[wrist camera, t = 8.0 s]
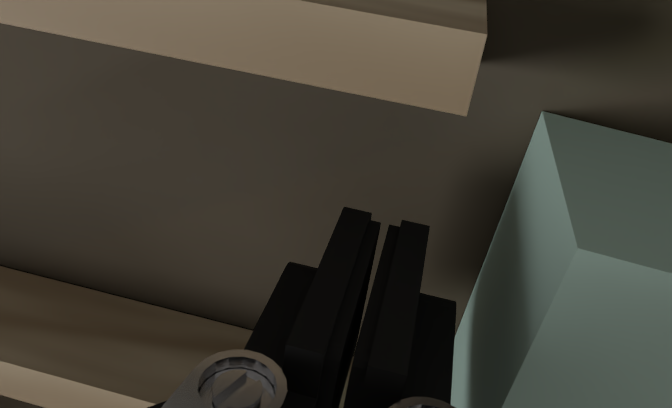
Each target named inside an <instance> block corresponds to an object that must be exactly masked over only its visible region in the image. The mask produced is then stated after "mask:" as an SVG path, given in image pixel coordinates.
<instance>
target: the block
mask: <svg viewBox="0 0 672 408" xmlns="http://www.w3.org/2000/svg"><path fill="white" fill-rule="evenodd" d="M451 405H452V406H454V407H456V408H672V143H668V142H664V141H660V140H656V139H652V138H648V137H644V136H640V135H636V134H632V133H628V132H624V131H620V130H616V129H612V128H608V127H604V126H600V125H596V124H592V123H588V122H584V121H580V120H576V119H572V118H568V117H564V116H560V115H556V114H552V113H548V112H544V111H542V112H541V115H540V118H539V120H538V123H537V125H536V128H535V131H534V133H533V136H532V138H531V141H530V144H529V146H528V149H527V151H526V154H525V156H524V159H523V162H522V164H521V167H520V169H519V172H518V175H517V177H516V180H515V182H514V185H513V188H512V190H511V193H510V195H509V198H508V201H507V203H506V206H505V208H504V211H503V214H502V216H501V219H500V221H499V224H498V227H497V229H496V232H495V234H494V237H493V240H492V242H491V245H490V247H489V250H488V253H487V255H486V258H485V260H484V263H483V266H482V268H481V271H480V273H479V276H478V278H477V281H476V284H475V286H474V289H473V291H472V294H471V297H470V299H469V302H468V304H467V307H466V310H465V312H464V315H463V317H462V320H461V323H460V325H459V328H458V330H457V333H456V336H455V338H454V355H453V372H452V389H451Z"/></svg>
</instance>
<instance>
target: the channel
mask: <svg viewBox="0 0 672 408" xmlns="http://www.w3.org/2000/svg"><path fill="white" fill-rule="evenodd" d="M0 23H3V24H8V25H13V26H18V27H23V28H28V29H33V30H38V31H43V32H48V33H53V34H58V35H63V36H68V37H73V38H78V39H83V40H88V41H93V42H98V43H103V44H108V45H113V46H118V47H123V48H128V49H133V50H138V51H143V52H148V53H153V54H158V55H163V56H168V57H173V58H178V59H183V60H188V61H193V62H198V63H203V64H208V65H213V66H218V67H223V68H228V69H233V70H238V71H243V72H248V73H253V74H258V75H263V76H268V77H273V78H278V79H283V80H288V81H293V82H298V83H303V84H308V85H313V86H318V87H323V88H328V89H333V90H338V91H343V92H348V93H353V94H358V95H362V96H367V97H372V98H377V99H382V100H387V101H392V102H397V103H402V104H407V105H412V106H417V107H422V108H427V109H432V110H437V111H442V112H447V113H452V114H457V115H462V116H467V112H468V108H469V104H470V100H471V97H472V93H473V89H474V85H475V81H476V77H477V73H478V69H479V65H480V61H481V58H482V54H483V50H484V46H485V42H486V38H487V3H486V0H0ZM252 332H253V331H252V330H248V329H244V328H240V327H236V326H232V325H228V324H225V323H221V322H217V321H213V320H209V319H205V318H201V317H197V316H193V315H189V314H185V313H182V312H178V311H174V310H170V309H166V308H162V307H158V306H154V305H150V304H146V303H142V302H139V301H135V300H131V299H127V298H123V297H119V296H115V295H111V294H107V293H103V292H100V291H96V290H92V289H88V288H84V287H80V286H76V285H72V284H68V283H64V282H60V281H57V280H53V279H49V278H45V277H41V276H37V275H33V274H29V273H25V272H21V271H17V270H14V269H10V268H6V267H2V266H0V395H3V396H6V397H10V398H13V399H17V400H20V401H24V402H27V403H31V404H34V405H38V406H41V407H45V408H147V407H150V406H153V405H156V404H158V403H161V402H164V401H167V400H168V399H169V398H170V396H171V395H172V394H173V393H174V392H175V390H176V389H177V388H178V387H179V386H180V384H181V383H182V382H183V381H184V380H185V378H186V377H187V376H188V375H189V374H190V372H191V371H192V370H193V369H194V368H195V367H196V366H197V365H198V364H199V363H200V362H201V361H203V360H204V359H205V358H207V357H209V356H211V355H213V354H216V353H218V352H222V351H227V350H244V348H245V346H246V344H247V342H248V340H249V338H250V336H251V334H252ZM353 359H354V357H352V361H351V365H350V368H349V372H348V376H347V379H346V383H345V387H344V390H343V394H342V398H341V401H340V405H339V408H343V406H344V401H345V396H346V391H347V386H348V381H349V376H350V372H351V367H352V363H353Z"/></svg>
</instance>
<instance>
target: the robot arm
mask: <svg viewBox="0 0 672 408" xmlns="http://www.w3.org/2000/svg"><path fill="white" fill-rule="evenodd" d="M371 215H372V213H369V212H365V211H361V210H356V209H352V208H347V207H344V208H343V210H342V213H341V215H340V217H339V220H338V222H337V224H336V227H335V229H334V232H333V234H332V236H331V239H330V241H329V243H328V246H327V248H326V250H325V253H324V255H323V258H322V260H321V262H320V265H319V267H318V268H314V267H310V266H305V265H301V264H297V263H293V262H289V263H288V264H287V266H286V267H285V269H284V271H283V273H282V275H281V277H280V279H279V281H278V283H277V285H276V287H275V289H274V291H273V293H272V295H271V297H270V299H269V301H268V303H267V305H266V307H265V309H264V311H263V313H262V315H261V317H260V318H259V320H258V322H257V324H256V326H255V328H254V330H253V332H252V334H251V336H250V338H249V340H248V342H247V344H246V346H245V348H244V350H227V351H222V352H218V353H216V354H213V355H211V356H209V357H207V358H205V359H204V360H203V361H201V362H200V363H199V364H198V365H197V366H196V367H195V368H194V369H193V370H192V371H191V372H190V374H189V375H188V376H187V377H186V378H185V380H184V381H183V382H182V383H181V384H180V386H179V387H178V388H177V389H176V390H175V392H174V393H173V394H172V395H171V396H170V398H169V399H168V400H167V401H164V402H161V403H158V404H156V405H153V406H150V407H147V408H339V405H340V401H341V398H342V394H343V390H344V387H345V383H346V379H347V376H348V372H349V368H350V365H351V361H352V357H353V354H354V350H355V346H356V342H357V338H358V334H359V329H360V324H361V319H362V314H363V309H364V305H365V300H366V295H367V290H368V285H369V280H370V275H371V270H372V265H373V260H374V255H375V250H376V245H377V240H378V235H379V230H380V225H381V223H380V222H376V221H371ZM429 227H430V226H427V225H423V224H418V223H414V222H409V221H405V220H402V222H401V226H400V227H398V226H393V225H389V228H388V231H387V235H386V239H385V243H384V246H383V250H382V254H381V257H380V261H379V265H378V269H377V272H376V276H375V280H374V283H373V287H372V291H371V295H370V298H369V302H368V306H367V309H366V313H365V317H364V321H363V324H362V328H361V332H360V336H359V339H358V343H357V347H356V351H355V355H354V359H353V363H352V367H351V372H350V376H349V381H348V386H347V391H346V396H345V401H344V406H343V408H456V407H454V406H452V405H451V389H452V372H453V355H454V338H455V321H456V302H455V301H451V300H447V299H443V298H439V297H435V296H431V295H426V294H422V293H420V287H421V281H422V274H423V267H424V261H425V254H426V248H427V241H428V234H429Z"/></svg>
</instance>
